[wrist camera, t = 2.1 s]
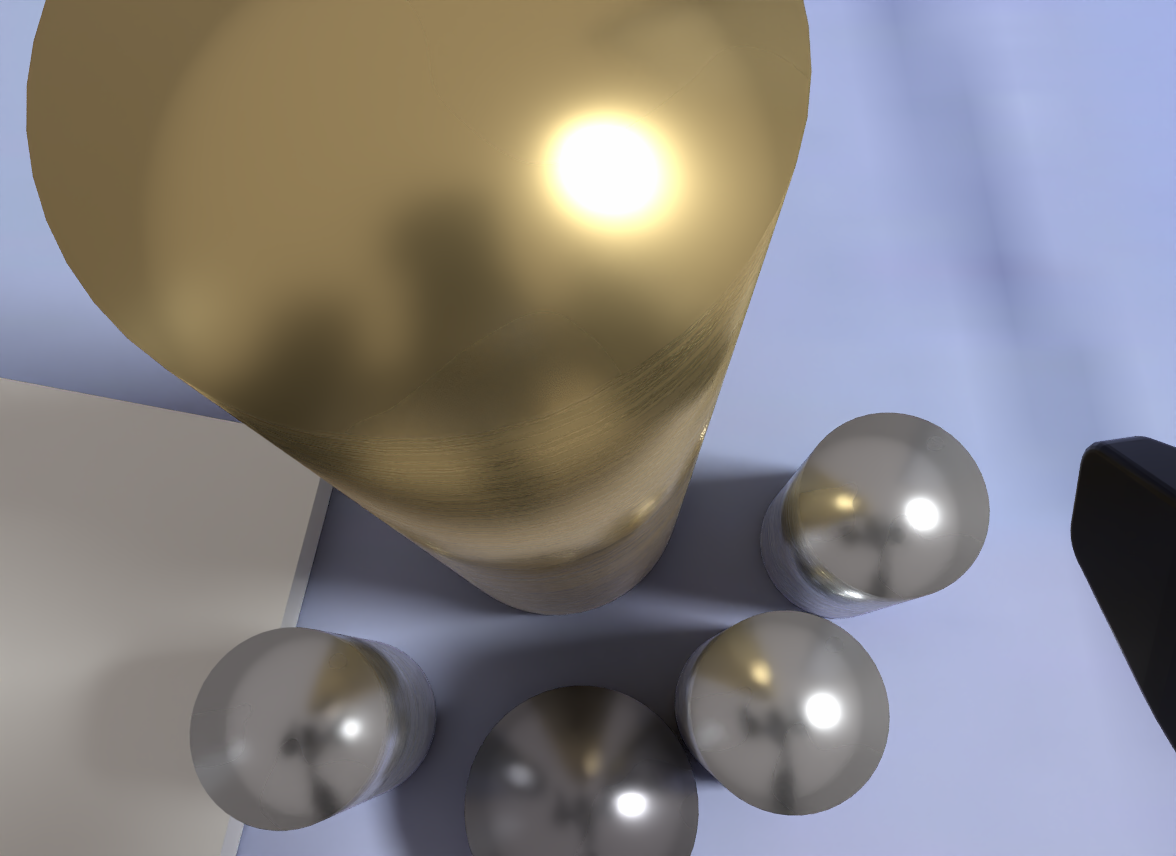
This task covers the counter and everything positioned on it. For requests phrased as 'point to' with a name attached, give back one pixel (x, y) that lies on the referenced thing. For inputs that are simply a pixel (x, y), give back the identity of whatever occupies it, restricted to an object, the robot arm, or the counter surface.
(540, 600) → the brass tube
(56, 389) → the tile
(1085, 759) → the counter surface
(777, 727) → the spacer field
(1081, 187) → the counter surface
